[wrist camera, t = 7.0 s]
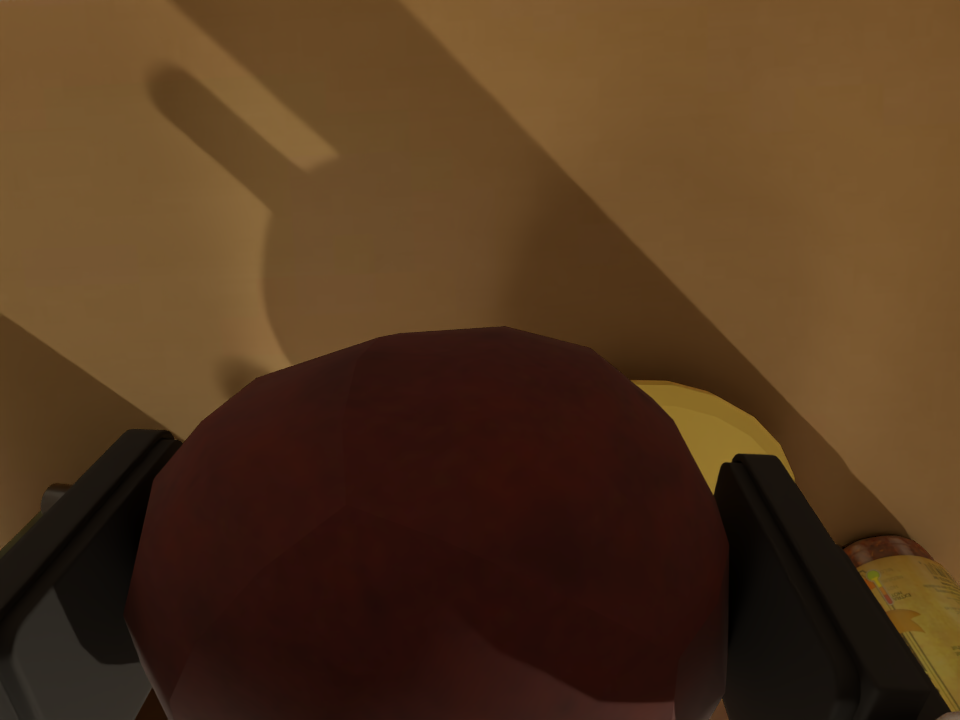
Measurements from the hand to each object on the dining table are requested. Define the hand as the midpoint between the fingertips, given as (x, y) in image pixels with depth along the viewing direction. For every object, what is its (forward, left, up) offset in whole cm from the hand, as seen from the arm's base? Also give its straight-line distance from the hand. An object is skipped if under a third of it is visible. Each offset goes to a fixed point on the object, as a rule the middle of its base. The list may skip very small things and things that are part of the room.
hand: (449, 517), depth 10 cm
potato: (0, 0, -2) cm, 2 cm away
